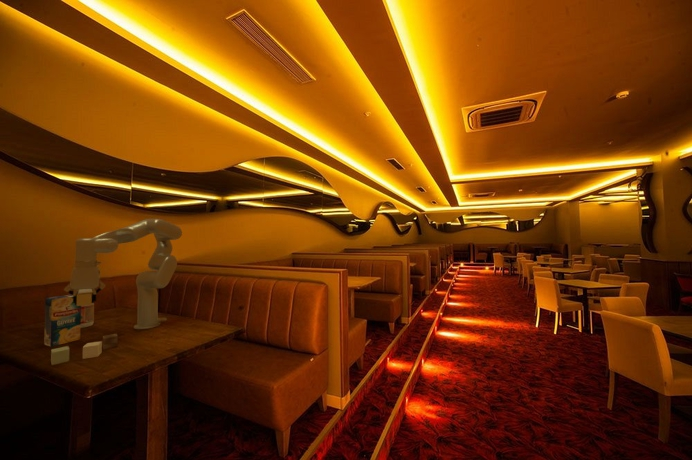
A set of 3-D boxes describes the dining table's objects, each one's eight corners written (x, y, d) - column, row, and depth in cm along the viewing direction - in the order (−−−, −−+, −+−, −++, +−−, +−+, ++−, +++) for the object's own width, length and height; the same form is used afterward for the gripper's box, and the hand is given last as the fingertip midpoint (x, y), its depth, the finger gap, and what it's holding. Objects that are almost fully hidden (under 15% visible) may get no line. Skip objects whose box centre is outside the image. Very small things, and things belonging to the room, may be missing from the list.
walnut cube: (116, 343, 136) (116, 333, 136) (117, 346, 132) (117, 335, 132) (102, 346, 132) (102, 335, 133) (103, 349, 129) (103, 338, 129)
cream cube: (101, 352, 125) (101, 341, 126) (97, 356, 121) (98, 345, 121) (87, 354, 123) (87, 343, 123) (82, 359, 119) (82, 347, 119)
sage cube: (67, 357, 120) (68, 346, 120) (69, 361, 117) (69, 349, 117) (50, 361, 116) (51, 349, 116) (51, 365, 113) (52, 352, 113)
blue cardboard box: (80, 339, 142) (81, 295, 143) (50, 346, 132) (51, 299, 133) (73, 337, 145) (74, 294, 146) (43, 344, 135) (45, 298, 136)
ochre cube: (93, 302, 136) (93, 292, 136) (91, 304, 132) (91, 293, 132) (78, 303, 133) (79, 293, 133) (76, 306, 129) (76, 295, 129)
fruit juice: (95, 325, 164) (96, 277, 165) (72, 329, 157) (74, 279, 157) (91, 322, 170) (92, 276, 171) (70, 326, 163) (71, 277, 163)
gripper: (110, 263, 141) (109, 299, 140) (62, 265, 131) (61, 304, 131) (108, 264, 135) (107, 302, 134) (58, 266, 125) (57, 307, 124)
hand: (85, 303), depth 132 cm, fingers closed on ochre cube, 5 cm apart
